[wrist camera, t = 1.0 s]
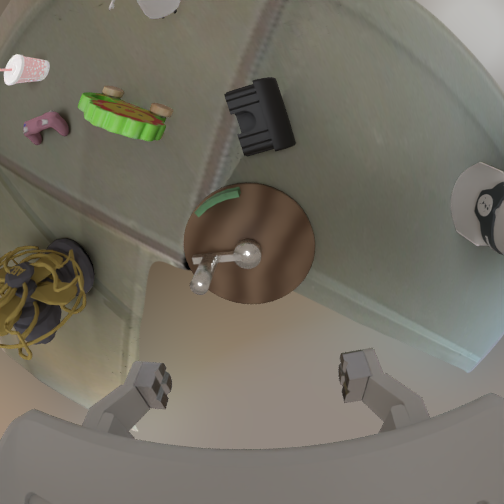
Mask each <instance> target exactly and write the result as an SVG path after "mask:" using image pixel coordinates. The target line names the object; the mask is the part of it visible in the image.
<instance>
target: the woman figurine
mask: <svg viewBox="0 0 504 504" xmlns="http://www.w3.org/2000/svg"><path fill="white" fill-rule="evenodd" d="M114 1H115V0H112V2H111V4H110V6H109V11H110V9H111V8H112V7H113V9H114V4H113V3H114ZM136 1H137V2H138V4H139V6H140V7H141V9H142V11H143V12H144V14H145V15H146V16H148V17H149V18H151V19H159V18H162V19H163V18H164V17H165V16H167V15H169V14H171V13H172V12H174V14H175V13H176V12H177V8H178V7H179V4H180V0H136Z"/></svg>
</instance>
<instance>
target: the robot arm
mask: <svg viewBox="0 0 504 504" xmlns="http://www.w3.org/2000/svg"><path fill="white" fill-rule="evenodd" d="M451 213H452V218H453V221H454V225H455V229H456V232H458V233H459V234H461V235H462V236H463V237H465V238H466V239H468V240H469V241H470V242H472V243H473V244H475V245H476V246H479V245H482V246H489V247H490V248H491V249H493V250H494V251H496V252H498V253H499V254H502V255H504V172H503V171H501V170H499V169H497V168H494V167H492V166H490V165H487V164H485V163H482V162H479V163H477V164H475V165H473V166H471V167H469V168H468V169H466V170H465V171H464V172H463V173H462V174H461V175H460V176H459V178H458V179H457V181H456V183H455V185H454V188H453V191H452V196H451ZM340 362H341V364H340V365H339V371H338V372H339V381H340V384H341V385H342V386H343V388H342V394H343V399H344V403H347V402H354V401H360V400H362V401H363V402H364V403H365V404H366V405H367V406H368V407H369V408H370V409H371V410H372V411H373V412H374V413H375V414H376V415H377V416H378V417H380V419H382V420H383V421H384V423H383V425H382V428H381V429H380V431H379V433H378V434H374V435H370V436H365V437H361V438H356V439H351V440H345V441H340V442H333V443H327V444H320V445H312V446H302V447H292V448H278V449H211V448H196V447H186V446H176V445H168V444H161V443H155V442H148V441H142V440H137V439H135V438H134V437H133V436H132V435H131V434H130V432H129V430H130V429H131V428H132V427H133V426H134V425H135V424H136V423H137V422H138V421H139V420H140V419H141V418H142V417H143V416H144V415H145V414H146V413H147V412H148V411H149V410H150V408H155V409H166V406H167V402H168V397H167V394H168V393H170V392H171V388H172V380H171V376H170V374H169V373H167V372H166V366H165V364H164V363H154V362H141V361H135V362H134V363H133V365H132V367H131V369H130V371H129V374H128V376H127V378H126V380H125V383H124V385H120V386H119V387H117V388H116V389H115V390H113V391H112V392H111V393H109V394H108V395H107V396H105V397H104V398H103V399H101V400H100V401H99V402H97V403H96V404H94V405H93V406H92V407H90V409H89V411H88V413H87V415H86V418H85V420H84V422H83V424H82V426H81V425H77V424H74V423H71V422H68V421H65V420H62V419H60V418H57V417H54V416H52V415H49V414H46V413H44V412H41V411H39V410H36V409H34V410H30V411H28V412H26V413H24V414H23V415H21V416H19V417H18V418H16V419H15V420H13V421H12V423H11V424H10V425H9V426H8V428H7V429H6V431H5V433H4V434H3V436H2V438H1V440H0V504H504V398H502V397H500V396H499V395H496V394H494V393H489V394H486V395H484V396H482V397H480V398H478V399H476V400H474V401H472V402H469V403H467V404H465V405H462V406H460V407H458V408H455V409H453V410H450V411H448V412H445V413H443V414H440V415H438V416H435V417H432V418H430V416H429V413H428V411H427V408H426V406H425V404H424V401H423V399H422V397H420V396H419V395H418V394H416V393H415V392H413V391H412V390H410V389H409V388H407V387H406V386H405V385H403V384H402V383H400V382H398V381H397V380H396V379H394V378H393V377H391V376H390V375H388V374H387V373H385V374H384V373H383V371H382V368H381V366H380V363H379V360H378V358H377V355H376V353H375V350H374V349H373V348H369V349H363V350H357V351H351V352H345V353H341V355H340Z"/></svg>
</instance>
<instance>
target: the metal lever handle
mask: <svg viewBox="0 0 504 504" xmlns="http://www.w3.org/2000/svg"><path fill="white" fill-rule="evenodd" d="M261 253H262V250H261V247H260V245H259V244H258V243H257V242H256V241H254V240H252V239H243V240H241V241H239V242H238V243H237V245H236V247H235V250H234V251H230V252H218V253H206V254H195V255H193V257H192V260H193V264H199V266H198V268H197V270H196V272H195V274H194V276H193V278H192V281H191V283H190V288H191V290H192V291H193V292H194V293H196V294H199V295H202V294H205V293H206V292H207V291H208V288H209V286H210V283H211V280H212V277H213V275H214V272H215V269H216V266H217V264H218V262H230V261H235V263H236V264H237V265H238V266H239V267H241V268H244V269H251V268H254V267H256V266H257V265H258V264H259V263H260V261H261Z"/></svg>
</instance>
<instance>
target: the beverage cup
mask: <svg viewBox="0 0 504 504" xmlns="http://www.w3.org/2000/svg"><path fill="white" fill-rule="evenodd" d="M49 67H50V66H49V62H48V61H46V60H41V59H36V58H30V57H24V56H22V55H18V54H16V55H14V56H13V57H12V58H11V59H10V60H9V62H8V64H7V66H6V68H5V69H0V71H5V72H4V82H5V84H6V85H13V84H15V83H23V82H33V81H41V80H43V79H44V78H45V77H46V76H47V74H48V72H49Z"/></svg>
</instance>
